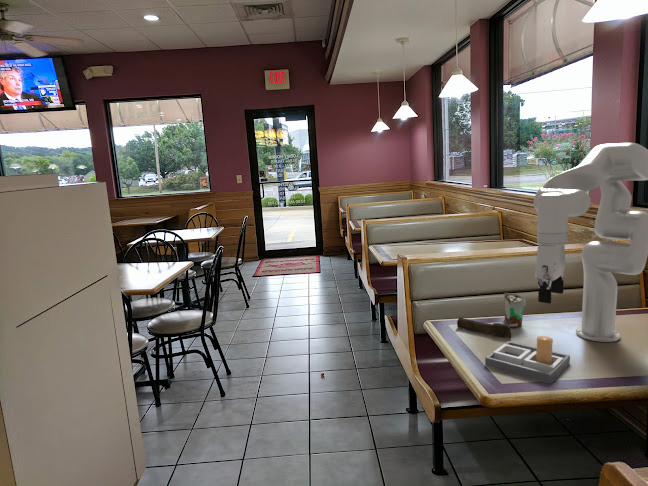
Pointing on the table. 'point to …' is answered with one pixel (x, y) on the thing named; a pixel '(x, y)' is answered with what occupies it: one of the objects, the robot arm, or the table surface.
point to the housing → (526, 362)
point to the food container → (514, 309)
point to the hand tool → (485, 327)
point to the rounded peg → (544, 350)
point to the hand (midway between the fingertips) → (551, 297)
